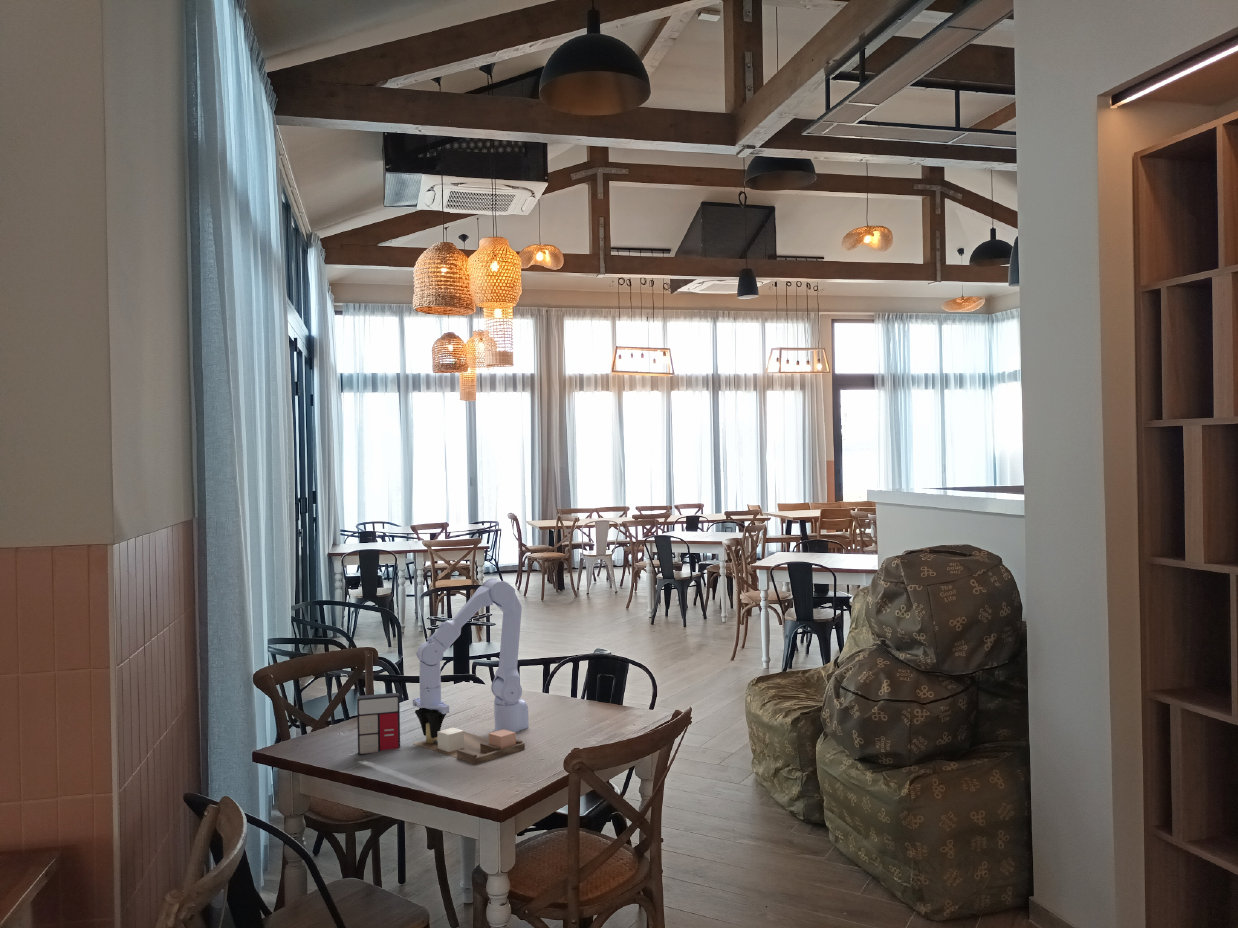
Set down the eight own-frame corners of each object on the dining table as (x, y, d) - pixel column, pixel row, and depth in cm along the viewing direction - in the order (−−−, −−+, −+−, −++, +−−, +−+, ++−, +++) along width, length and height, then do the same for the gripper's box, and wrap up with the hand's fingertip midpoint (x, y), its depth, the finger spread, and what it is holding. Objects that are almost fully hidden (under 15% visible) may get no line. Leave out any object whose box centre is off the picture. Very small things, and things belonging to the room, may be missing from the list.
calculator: (357, 756, 232) (356, 699, 233) (358, 751, 236) (357, 695, 237) (400, 751, 235) (399, 695, 235) (400, 747, 239) (399, 692, 240)
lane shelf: (460, 734, 251) (460, 723, 251) (524, 752, 231) (524, 741, 232) (413, 747, 239) (412, 736, 239) (476, 768, 220) (476, 756, 220)
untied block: (503, 745, 235) (503, 729, 235) (515, 749, 231) (515, 732, 231) (489, 750, 231) (488, 733, 231) (501, 754, 228) (500, 736, 228)
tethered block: (436, 738, 243) (435, 720, 243) (464, 747, 234) (463, 728, 234) (420, 742, 240) (420, 724, 240) (448, 751, 231) (448, 732, 231)
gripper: (402, 685, 243) (403, 734, 242) (433, 692, 233) (434, 743, 232) (424, 680, 248) (425, 728, 247) (455, 687, 238) (456, 737, 238)
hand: (431, 735), depth 240 cm, fingers closed on tethered block, 3 cm apart
